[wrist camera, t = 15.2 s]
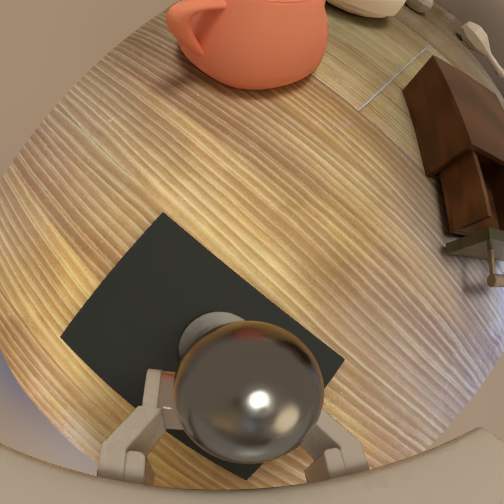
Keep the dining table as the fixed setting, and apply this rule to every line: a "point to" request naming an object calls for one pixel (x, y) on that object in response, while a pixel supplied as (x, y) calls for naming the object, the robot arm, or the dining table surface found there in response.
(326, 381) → the mat
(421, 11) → the apple
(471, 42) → the chicken leg
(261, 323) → the domed metal post
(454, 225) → the drawer
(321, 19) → the teapot
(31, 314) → the dining table surface
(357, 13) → the bowl
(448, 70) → the cabinet
